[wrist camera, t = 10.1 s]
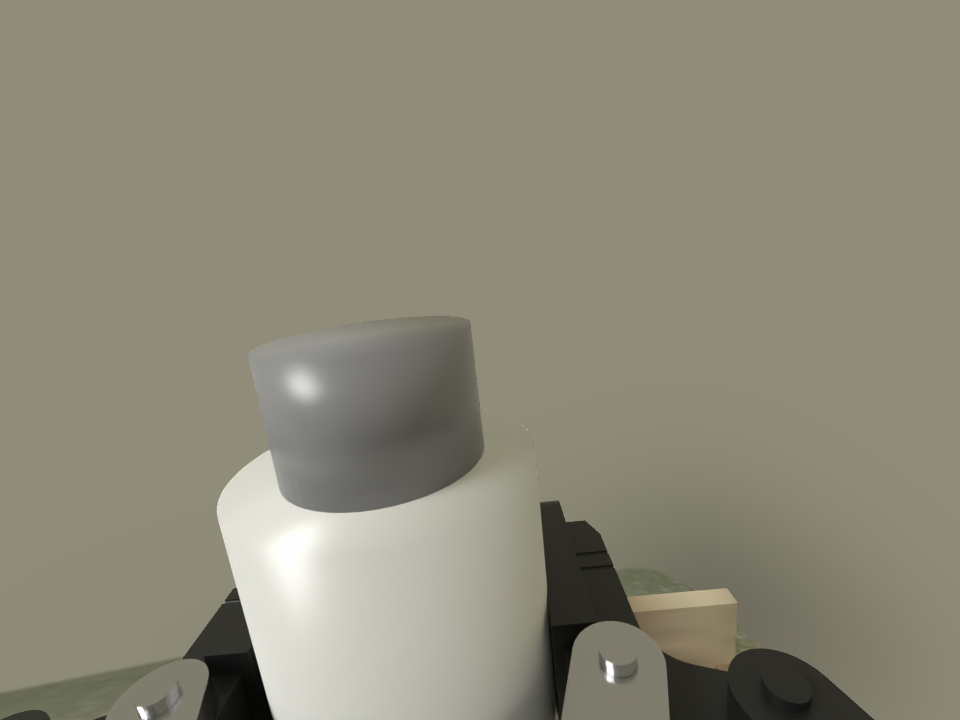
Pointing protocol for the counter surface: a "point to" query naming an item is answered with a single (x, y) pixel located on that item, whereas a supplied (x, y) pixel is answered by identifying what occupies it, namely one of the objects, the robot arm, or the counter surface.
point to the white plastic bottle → (390, 532)
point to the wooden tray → (691, 625)
